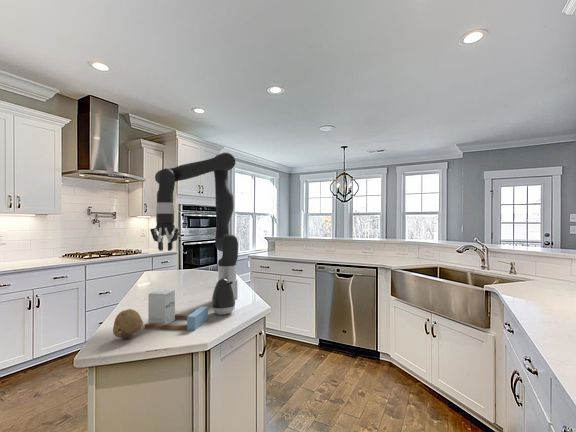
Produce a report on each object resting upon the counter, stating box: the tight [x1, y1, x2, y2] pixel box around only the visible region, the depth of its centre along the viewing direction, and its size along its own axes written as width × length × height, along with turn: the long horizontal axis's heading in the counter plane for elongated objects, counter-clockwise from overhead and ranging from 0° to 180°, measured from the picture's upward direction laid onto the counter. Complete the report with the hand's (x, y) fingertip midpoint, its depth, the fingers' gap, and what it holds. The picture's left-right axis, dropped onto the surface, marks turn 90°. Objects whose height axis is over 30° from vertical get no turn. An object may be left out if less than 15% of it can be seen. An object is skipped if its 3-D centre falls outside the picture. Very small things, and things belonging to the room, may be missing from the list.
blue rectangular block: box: [186, 306, 209, 331], centre depth 120 cm, size 3×13×5 cm, turn 174°
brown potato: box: [112, 308, 144, 340], centre depth 106 cm, size 9×9×10 cm
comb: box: [143, 313, 190, 331], centre depth 121 cm, size 17×13×2 cm
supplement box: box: [147, 289, 176, 324], centre depth 122 cm, size 7×7×13 cm
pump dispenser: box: [210, 278, 236, 316], centre depth 133 cm, size 10×10×15 cm
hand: (165, 250), depth 139 cm, fingers open, 3 cm apart
